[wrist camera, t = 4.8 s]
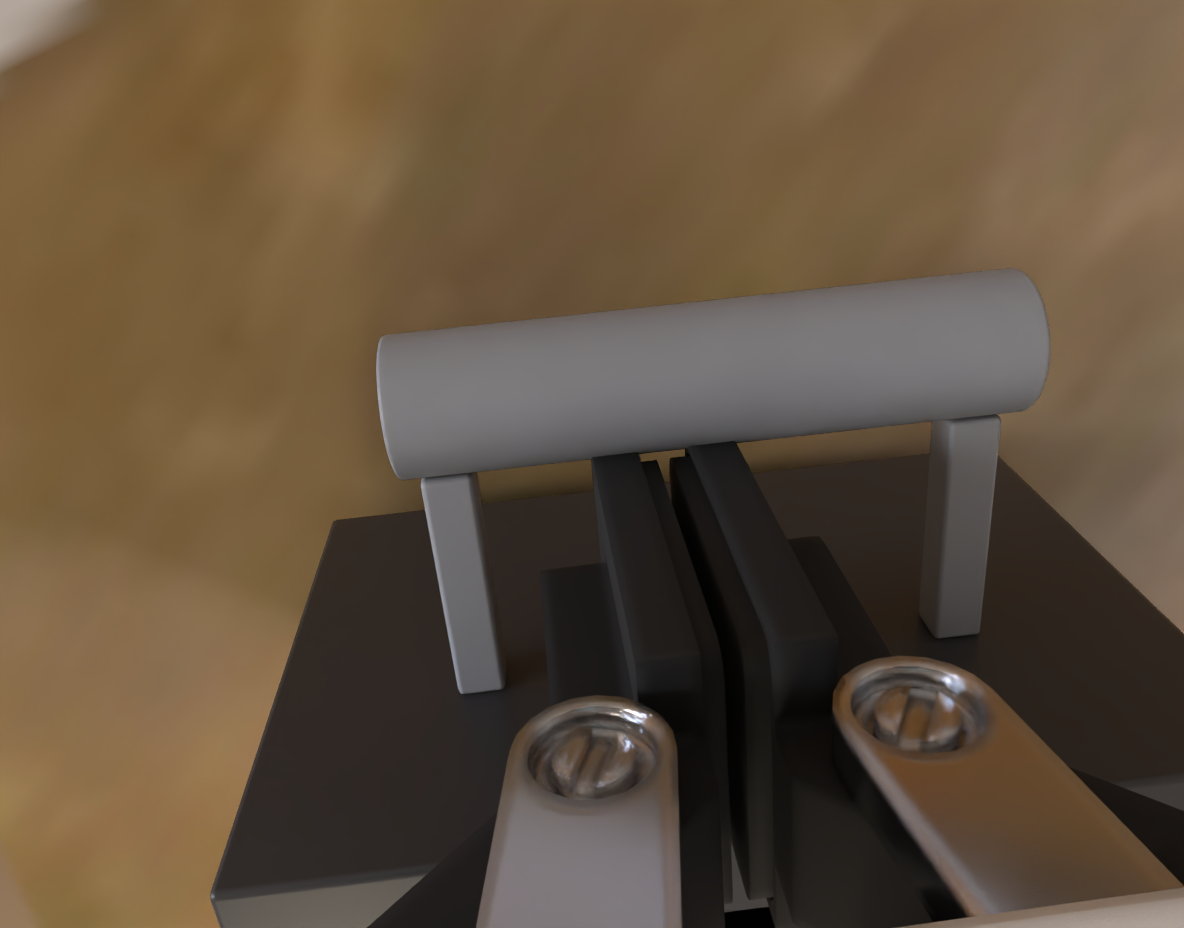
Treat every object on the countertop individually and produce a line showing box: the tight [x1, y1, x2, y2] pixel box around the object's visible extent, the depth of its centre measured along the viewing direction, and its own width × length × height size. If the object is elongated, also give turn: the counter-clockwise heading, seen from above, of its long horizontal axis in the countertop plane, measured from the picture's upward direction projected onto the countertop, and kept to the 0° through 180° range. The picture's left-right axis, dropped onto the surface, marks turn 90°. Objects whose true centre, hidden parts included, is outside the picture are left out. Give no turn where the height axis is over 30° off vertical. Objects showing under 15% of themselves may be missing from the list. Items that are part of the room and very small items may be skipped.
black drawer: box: [210, 268, 1184, 928], centre depth 15 cm, size 18×11×8 cm, turn 5°
